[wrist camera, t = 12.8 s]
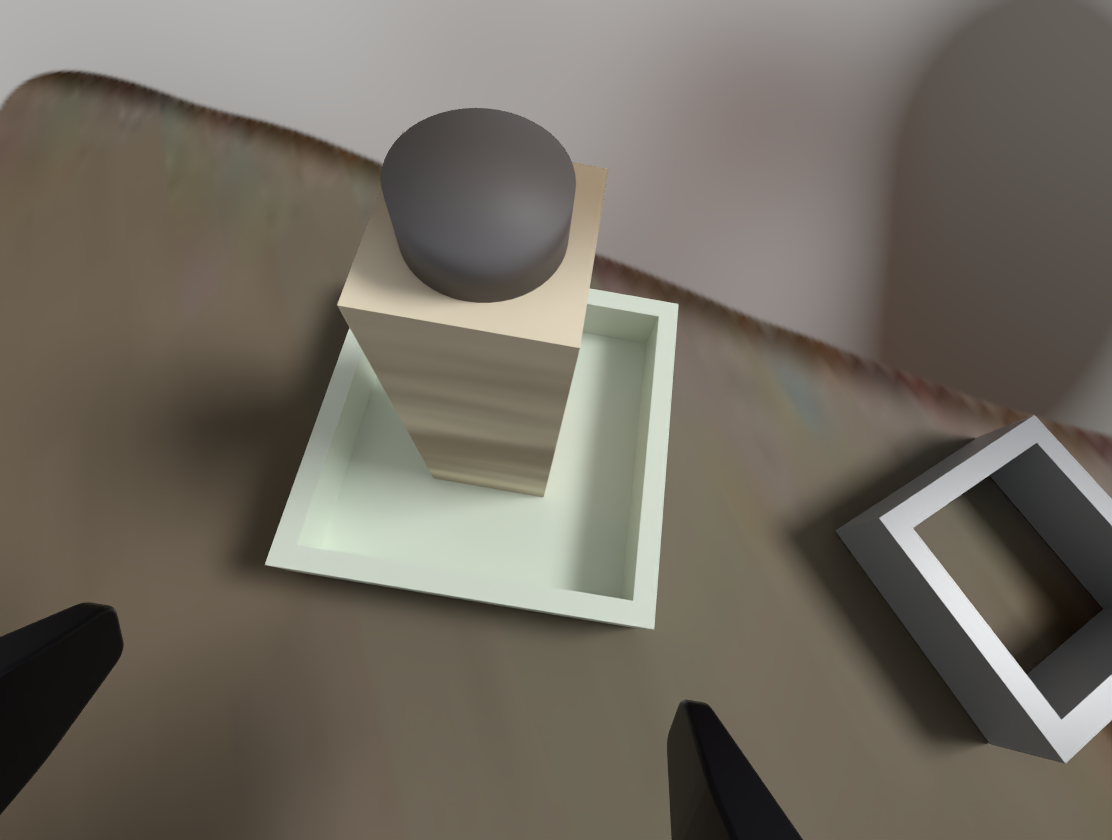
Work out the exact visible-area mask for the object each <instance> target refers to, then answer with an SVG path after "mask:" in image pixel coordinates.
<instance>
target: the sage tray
mask: <svg viewBox="0 0 1112 840" xmlns="http://www.w3.org/2000/svg"><path fill="white" fill-rule="evenodd" d="M677 315H678V304H675V303H669V302H663V301H658V300H652V299H646V298H640V297H635V296H629V295H623V294H618V293H612V292H606V291H601V290H595V289H589V294H588V301H587V307H586V313H585V319H584V326H583V332H582V338H581V345H580V350H579V354H578V358H577V362H576V367H575V371H574V375H573V379H572V383H571V387H570V391H569V395H568V400H567V404H566V408H565V412H564V416H563V420H562V424H561V428H560V433H559V437H558V441H557V445H556V449H555V453H554V457H553V461H552V466H551V470H550V474H549V478H548V482H547V486H546V490H545V494H544V497H539V496H533V495H528V494H522V493H516V492H510V491H504V490H498V489H493V488H487V487H481V486H475V485H469V484H464V483H458V482H452V481H446V480H440V479H434V478H433V476H432V474H431V472H430V471H429V469H428V467H427V465H426V464H425V462H424V460H423V458H422V456H421V455H420V453H419V451H418V449H417V447H416V446H415V444H414V442H413V440H412V438H411V437H410V435H409V433H408V431H407V430H406V428H405V426H404V424H403V422H402V421H401V419H400V417H399V415H398V413H397V412H396V410H395V408H394V406H393V404H392V403H391V401H390V399H389V397H388V396H387V394H386V392H385V390H384V388H383V387H382V385H381V383H380V381H379V379H378V378H377V376H376V374H375V372H374V370H373V369H372V367H371V365H370V363H369V362H368V360H367V358H366V356H365V354H364V353H363V351H362V349H361V347H360V345H359V344H358V342H357V340H356V338H355V336H354V335H353V333H352V331H351V329H350V327H349V330H348V333H347V336H346V339H345V341H344V344H343V347H342V350H341V353H340V355H339V358H338V361H337V364H336V367H335V369H334V372H333V375H332V378H331V381H330V383H329V386H328V389H327V392H326V395H325V397H324V400H323V403H322V406H321V409H320V411H319V414H318V417H317V420H316V423H315V425H314V428H313V431H312V434H311V437H310V439H309V442H308V445H307V448H306V451H305V453H304V456H303V459H302V462H301V465H300V467H299V470H298V473H297V476H296V479H295V481H294V484H293V487H292V490H291V493H290V495H289V498H288V501H287V504H286V507H285V509H284V512H283V515H282V518H281V521H280V523H279V526H278V529H277V532H276V535H275V537H274V540H273V543H272V546H271V549H270V551H269V554H268V557H267V560H266V563H265V565H268V566H272V567H277V568H281V569H285V570H290V571H294V572H299V573H305V574H311V575H317V576H323V577H329V578H335V579H341V580H347V581H353V582H359V583H365V584H371V585H377V586H383V587H389V588H395V589H401V590H407V591H413V592H419V593H425V594H431V595H438V596H444V597H450V598H456V599H462V600H468V601H474V602H480V603H486V604H492V605H498V606H504V607H510V608H516V609H522V610H528V611H534V612H540V613H546V614H552V615H558V616H564V617H570V618H576V619H582V620H588V621H594V622H600V623H606V624H612V625H618V626H624V627H630V628H638V629H654V624H655V610H656V597H657V583H658V570H659V557H660V543H661V530H662V516H663V503H664V490H665V476H666V463H667V449H668V436H669V422H670V409H671V396H672V382H673V369H674V355H675V342H676V329H677Z"/></svg>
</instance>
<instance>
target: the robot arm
mask: <svg viewBox="0 0 1112 840" xmlns="http://www.w3.org/2000/svg"><path fill="white" fill-rule="evenodd" d="M123 645H124V644H123V638H122V634H121V629H120V625H119V620H118V616H117V612H116V610H115V609H114V608H113V607H112V606H109V605H102V604H96V603H89V602H88V603H81V604H78V605H75V606H72V607H70V608H68V609H65V610H63V611H61V612H58V613H56V614H53V615H51V616H49V617H46V618H44V619H42V620H39V621H37V622H34V623H32V624H30V625H27V626H25V627H23V628H20V629H18V630H15V631H13V632H11V633H8V634H6V635H3V636H1V637H0V815H1V813H2V812H3V811H4V810H5V809H6V808H7V806H8V805H9V804H10V803H11V802H12V800H13V799H14V798H15V797H16V796H17V795H18V793H19V792H20V791H21V790H22V789H23V787H24V786H25V785H26V784H27V783H28V782H29V780H30V779H31V778H32V777H33V775H34V774H35V773H36V772H37V771H38V769H39V768H40V767H41V766H42V764H43V763H44V762H45V761H46V759H47V758H48V757H49V755H50V754H51V753H52V751H53V750H54V749H55V747H56V746H57V745H58V743H59V742H60V741H61V739H62V738H63V736H64V735H65V734H66V732H67V731H68V730H69V728H70V727H71V725H72V724H73V723H74V721H75V720H76V718H77V717H78V716H79V714H80V713H81V712H82V710H83V709H84V707H85V706H86V705H87V703H88V702H89V700H90V699H91V698H92V696H93V695H94V694H95V692H96V691H97V689H98V688H99V687H100V685H101V684H102V682H103V681H104V680H105V678H106V677H107V676H108V674H109V673H110V671H111V670H112V669H113V667H114V666H115V664H116V663H117V661H118V660H119V658H120V656H121V654H122V651H123ZM667 758H668V777H669V797H670V816H671V836H672V840H803V839H802V838H801V836H800V835H799V833H798V832H797V830H796V829H795V828H794V826H793V825H792V823H791V822H790V820H789V819H788V817H787V816H786V815H785V813H784V812H783V810H782V809H781V807H780V806H779V805H778V803H777V802H776V800H775V799H774V797H773V796H772V794H771V793H770V792H769V790H768V789H767V787H766V786H765V784H764V783H763V782H762V780H761V779H760V777H759V776H758V774H757V773H756V771H755V770H754V769H753V767H752V766H751V764H750V763H749V761H748V760H747V759H746V757H745V756H744V754H743V753H742V751H741V750H740V748H739V747H738V746H737V744H736V743H735V741H734V740H733V738H732V737H731V735H730V734H729V733H728V731H727V730H726V728H725V727H724V725H723V724H722V723H721V721H720V720H719V718H718V717H717V715H716V714H715V712H714V711H713V710H712V708H711V707H710V706H709V705H708V704H706V703H703V702H698V701H692V700H683V701H681V702H680V704H679V706H678V709H677V712H676V714H675V717H674V720H673V723H672V725H671V728H670V731H669V734H668V740H667Z"/></svg>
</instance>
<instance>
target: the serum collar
mask: <svg viewBox="0 0 1112 840" xmlns="http://www.w3.org/2000/svg"><path fill="white" fill-rule="evenodd" d="M987 476H990V477H991V478H992V479H993V480H994V481H995V483H996V484H997V485H998V486H999V487H1000V489H1001V490H1002V491H1003V492H1004V493H1005V494H1006V496H1007V497H1008V498H1009V499H1010V500H1011V501H1012V503H1013V504H1014V505H1015V506H1016V507H1017V508H1018V510H1019V511H1020V512H1021V513H1022V514H1023V516H1024V517H1025V518H1026V519H1027V520H1028V521H1029V523H1030V524H1031V525H1032V526H1033V527H1034V528H1035V530H1036V531H1037V532H1038V533H1039V534H1040V535H1041V537H1042V538H1043V539H1044V540H1045V541H1046V543H1047V544H1048V545H1049V546H1050V547H1051V548H1052V550H1053V551H1054V552H1055V553H1056V554H1057V555H1058V557H1059V558H1060V559H1061V560H1062V561H1063V562H1064V564H1065V565H1066V566H1067V567H1068V568H1069V570H1070V571H1071V572H1072V573H1073V574H1074V575H1075V577H1076V578H1077V579H1078V580H1079V581H1080V582H1081V584H1082V585H1083V586H1084V587H1085V588H1086V589H1087V591H1088V592H1089V593H1090V594H1091V595H1092V597H1093V598H1094V599H1095V600H1096V601H1097V602H1098V604H1099V605H1100V606H1101V607H1102V608H1103V610H1102V611H1100V612H1099V613H1098V614H1097V615H1096V616H1095V617H1093V618H1092V619H1091V620H1090V621H1089V622H1088V623H1086V624H1085V625H1084V626H1083V627H1082V628H1080V629H1079V630H1078V631H1077V632H1076V633H1075V634H1073V635H1072V636H1071V637H1070V638H1069V639H1068V640H1066V641H1065V642H1064V643H1063V644H1062V645H1060V646H1059V647H1058V648H1057V649H1056V650H1055V651H1053V652H1052V653H1051V654H1050V655H1049V656H1048V657H1046V658H1045V659H1044V660H1043V661H1042V662H1041V663H1039V664H1038V665H1037V666H1036V667H1035V668H1033V669H1032V670H1031V671H1030V672H1029V673H1028V674H1026V673H1025V672H1024V671H1023V670H1022V668H1021V667H1020V666H1019V664H1018V663H1017V662H1016V661H1015V659H1014V658H1013V657H1012V655H1011V654H1010V653H1009V651H1008V650H1007V649H1006V648H1005V646H1004V645H1003V644H1002V642H1001V641H1000V640H999V639H998V637H997V636H996V635H995V633H994V632H993V631H992V630H991V628H990V627H989V626H988V624H987V623H986V622H985V621H984V619H983V618H982V617H981V615H980V614H979V613H978V612H977V610H976V609H975V608H974V606H973V605H972V604H971V602H970V601H969V600H968V599H967V597H966V596H965V595H964V593H963V592H962V591H961V590H960V588H959V587H958V586H957V584H956V583H955V582H954V581H953V579H952V578H951V577H950V575H949V574H948V573H947V572H946V570H945V569H944V568H943V566H942V565H941V564H940V562H939V561H938V560H937V559H936V557H935V556H934V555H933V553H932V552H931V551H930V550H929V548H928V547H927V546H926V544H925V543H924V542H923V541H922V539H921V538H920V537H919V535H918V534H917V533H916V532H915V530H914V529H913V527H915V526H916V525H918V524H919V523H920V522H922V521H923V520H925V519H926V518H928V517H929V516H931V515H932V514H934V513H935V512H937V511H938V510H939V509H941V508H942V507H944V506H945V505H947V504H948V503H950V502H951V501H953V500H954V499H955V498H957V497H958V496H960V495H961V494H963V493H964V492H966V491H967V490H969V489H970V488H971V487H973V486H974V485H976V484H977V483H979V482H980V481H982V480H983V479H985V478H986V477H987ZM835 531H836V532H837V534H838V535H839V537H840V538H841V539H842V541H843V542H844V543H845V545H846V546H847V548H848V549H849V550H850V552H851V553H852V554H853V556H854V557H855V559H856V560H857V561H858V563H859V564H860V566H861V567H862V568H863V570H864V571H865V572H866V574H867V575H868V577H869V578H870V579H871V581H872V582H873V583H874V585H875V586H876V588H877V589H878V590H879V592H880V593H881V594H882V596H883V597H884V599H885V600H886V601H887V603H888V604H889V606H890V607H891V608H892V610H893V611H894V612H895V614H896V615H897V617H898V618H899V619H900V621H901V622H902V623H903V625H904V626H905V628H906V629H907V630H908V632H909V633H910V634H911V636H912V637H913V639H914V640H915V641H916V643H917V644H918V645H919V647H920V648H921V650H922V651H923V652H924V654H925V655H926V657H927V658H928V659H929V661H930V662H931V663H932V665H933V666H934V668H935V669H936V670H937V672H938V673H939V674H940V676H941V677H942V679H943V680H944V681H945V683H946V684H947V685H948V687H949V688H950V690H951V691H952V692H953V694H954V695H955V697H956V698H957V699H958V701H959V702H960V703H961V705H962V706H963V708H964V709H965V710H966V712H967V713H968V714H969V716H970V717H971V719H972V720H973V721H974V723H975V724H976V725H977V727H978V728H979V730H980V731H981V732H982V734H983V735H984V736H985V738H986V739H987V741H988V742H989V743H990V744H992V745H995V746H999V747H1003V748H1007V749H1011V750H1015V751H1019V752H1023V753H1026V754H1030V755H1034V756H1038V757H1042V758H1046V759H1050V760H1054V761H1058V762H1061V763H1067V762H1068V761H1069V760H1070V759H1071V758H1072V757H1073V756H1074V755H1075V754H1076V753H1077V752H1078V751H1079V750H1080V749H1081V748H1082V747H1084V746H1085V745H1086V744H1087V743H1088V742H1089V741H1090V740H1091V739H1092V738H1093V737H1094V736H1095V735H1096V734H1097V733H1098V732H1099V731H1100V730H1102V729H1103V728H1104V727H1105V726H1106V725H1107V724H1108V723H1109V722H1110V721H1111V720H1112V499H1111V498H1110V497H1109V496H1108V495H1107V494H1106V492H1105V491H1104V490H1103V489H1102V488H1101V487H1100V486H1099V485H1098V484H1097V483H1096V482H1095V480H1094V479H1093V478H1092V477H1091V476H1090V475H1089V474H1088V473H1087V472H1086V471H1085V470H1084V468H1083V467H1082V466H1081V465H1080V464H1079V463H1078V462H1077V461H1076V460H1075V459H1074V458H1073V456H1072V455H1071V454H1070V453H1069V452H1068V451H1067V450H1066V449H1065V448H1064V447H1063V446H1062V444H1061V443H1060V442H1059V441H1058V440H1057V439H1056V438H1055V437H1054V436H1053V435H1052V434H1051V433H1050V431H1049V430H1048V429H1047V428H1046V427H1045V426H1044V425H1043V424H1042V423H1041V422H1040V421H1039V419H1038V418H1037V417H1036V416H1035V415H1033V416H1030V417H1028V418H1025V419H1023V420H1020V421H1018V422H1015V423H1013V424H1010V425H1008V426H1005V427H1003V428H1000V429H998V430H995V431H993V432H990V433H988V434H985V435H983V436H980V437H977V438H976V439H974V440H973V441H971V442H970V443H968V444H967V445H965V446H964V447H962V448H961V449H959V450H958V451H956V452H954V453H953V454H951V455H950V456H948V457H947V458H945V459H944V460H942V461H941V462H939V463H938V464H936V465H935V466H933V467H932V468H930V469H929V470H927V471H925V472H924V473H922V474H921V475H919V476H918V477H916V478H915V479H913V480H912V481H910V482H909V483H907V484H906V485H904V486H903V487H901V488H899V489H898V490H896V491H895V492H893V493H892V494H890V495H889V496H887V497H886V498H884V499H883V500H881V501H880V502H878V503H877V504H875V505H873V506H872V507H870V508H869V509H867V510H866V511H864V512H863V513H861V514H860V515H858V516H857V517H855V518H854V519H852V520H851V521H849V522H847V523H846V524H844V525H843V526H841V527H840V528H838V529H837V530H835Z"/></svg>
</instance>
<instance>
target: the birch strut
mask: <svg viewBox="0 0 1112 840" xmlns="http://www.w3.org/2000/svg"><path fill="white" fill-rule="evenodd" d="M607 174H608V169H605V168H600V167H595V166H589V165H584V164H578V163H573V162H571V159H570V157H569V155H568V154H567V152H566V150H565V149H564V147H563V146H562V145H561V144H560V143H559V141H558V140H557V139H556V138H555V137H554V136H553V135H552V134H551V133H549V132H548V131H547V130H545V129H544V128H543V127H541V126H539V125H538V124H536V123H534V122H532V121H530V120H528V119H526V118H524V117H521V116H518V115H516V114H512V113H509V112H505V111H500V110H493V109H484V108H469V109H458V110H451V111H448V112H443V113H439V114H437V115H434V116H431V117H429V118H427V119H425V120H422V121H420V122H418V123H417V124H415V125H414V126H412V127H411V128H409V129H408V130H407V131H406V132H402V135H401V136H400V137H399V138H398V139H397V140H396V141H395V143H394V144H393V145H392V147H391V148H390V150H389V151H388V154H387V156H386V158H385V160H384V163H383V167H382V173H381V187H382V188H381V190H380V193H379V196H378V198H377V201H376V204H375V206H374V209H373V212H372V214H371V217H370V220H369V222H368V225H367V227H366V230H365V233H364V235H363V238H362V241H361V243H360V246H359V249H358V251H357V254H356V257H355V259H354V262H353V264H352V267H351V270H350V272H349V275H348V278H347V280H346V283H345V286H344V288H343V291H342V294H341V296H340V299H339V301H338V304H337V306H338V308H339V310H340V311H341V313H342V315H343V317H344V319H345V320H346V322H347V324H348V326H349V327H350V329H351V331H352V333H353V335H354V336H355V338H356V340H357V342H358V344H359V345H360V347H361V349H362V351H363V353H364V354H365V356H366V358H367V360H368V362H369V363H370V365H371V367H372V369H373V370H374V372H375V374H376V376H377V378H378V379H379V381H380V383H381V385H382V387H383V388H384V390H385V392H386V394H387V396H388V397H389V399H390V401H391V403H392V404H393V406H394V408H395V410H396V412H397V413H398V415H399V417H400V419H401V421H402V422H403V424H404V426H405V428H406V430H407V431H408V433H409V435H410V437H411V438H412V440H413V442H414V444H415V446H416V447H417V449H418V451H419V453H420V455H421V456H422V458H423V460H424V462H425V464H426V465H427V467H428V469H429V471H430V472H431V474H432V476H433V478H434V479H440V480H446V481H452V482H458V483H464V484H469V485H475V486H481V487H487V488H493V489H498V490H504V491H510V492H516V493H522V494H528V495H533V496H539V497H544V494H545V490H546V486H547V482H548V478H549V474H550V470H551V466H552V461H553V457H554V453H555V449H556V445H557V441H558V437H559V433H560V428H561V424H562V420H563V416H564V412H565V408H566V404H567V400H568V395H569V391H570V387H571V383H572V379H573V375H574V371H575V367H576V362H577V358H578V354H579V350H580V345H581V338H582V332H583V326H584V319H585V313H586V307H587V301H588V294H589V288H590V282H591V275H592V269H593V263H594V256H595V250H596V243H597V237H598V231H599V225H600V218H601V212H602V205H603V199H604V193H605V187H606V181H607Z"/></svg>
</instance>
